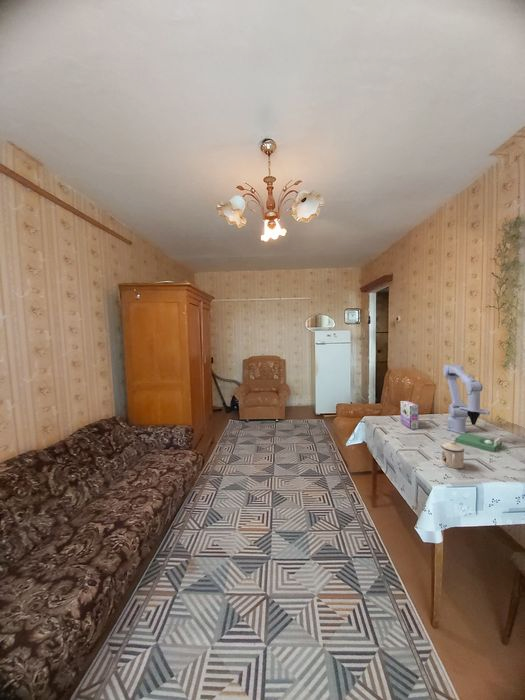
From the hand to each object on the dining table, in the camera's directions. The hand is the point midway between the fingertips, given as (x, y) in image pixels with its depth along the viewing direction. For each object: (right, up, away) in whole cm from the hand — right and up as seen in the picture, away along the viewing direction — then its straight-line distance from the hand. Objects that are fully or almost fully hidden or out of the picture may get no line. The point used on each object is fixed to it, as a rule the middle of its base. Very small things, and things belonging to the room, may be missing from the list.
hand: (473, 424), depth 162 cm
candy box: (-23, -9, +29) cm, 38 cm away
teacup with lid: (-32, -13, -29) cm, 45 cm away
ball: (+2, -8, -8) cm, 12 cm away
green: (-1, -10, -4) cm, 11 cm away
